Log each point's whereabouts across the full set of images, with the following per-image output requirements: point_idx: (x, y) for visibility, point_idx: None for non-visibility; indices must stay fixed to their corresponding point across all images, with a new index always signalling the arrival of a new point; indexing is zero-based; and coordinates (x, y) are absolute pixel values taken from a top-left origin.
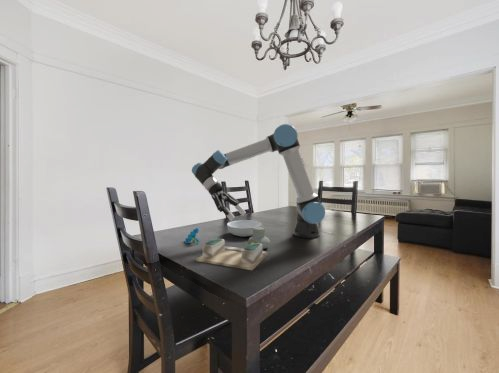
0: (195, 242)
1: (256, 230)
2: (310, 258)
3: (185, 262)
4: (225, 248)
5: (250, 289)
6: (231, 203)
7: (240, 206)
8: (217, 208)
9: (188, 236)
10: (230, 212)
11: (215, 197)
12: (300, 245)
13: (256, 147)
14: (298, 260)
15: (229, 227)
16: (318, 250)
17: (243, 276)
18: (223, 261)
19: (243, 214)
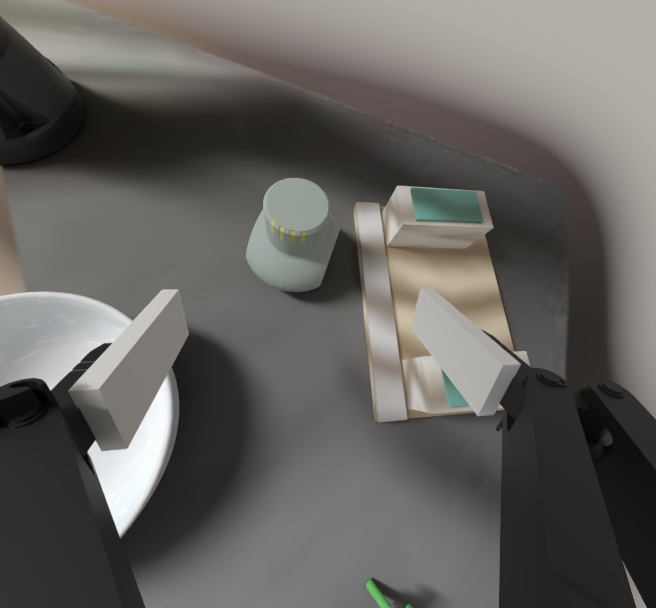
0: (384, 597)
1: (330, 209)
2: (324, 101)
3: None
4: (399, 359)
5: (543, 191)
6: (117, 534)
7: (118, 349)
8: (603, 453)
9: None
10: (459, 317)
11: None
12: (205, 129)
13: None
14: (353, 127)
15: (142, 508)
16: (242, 82)
17: (510, 223)
18: (491, 302)
19: (183, 320)
